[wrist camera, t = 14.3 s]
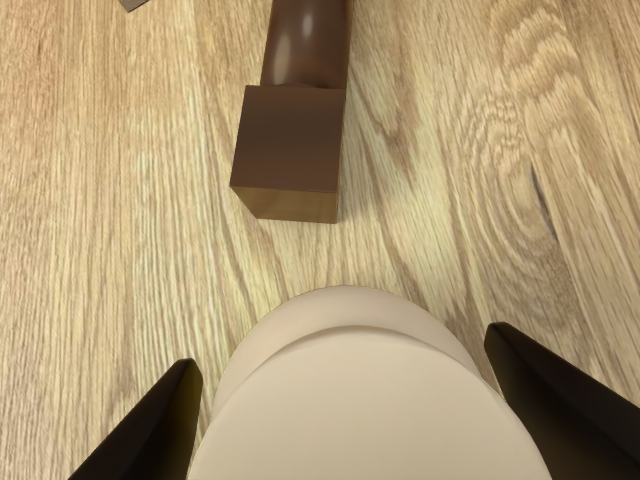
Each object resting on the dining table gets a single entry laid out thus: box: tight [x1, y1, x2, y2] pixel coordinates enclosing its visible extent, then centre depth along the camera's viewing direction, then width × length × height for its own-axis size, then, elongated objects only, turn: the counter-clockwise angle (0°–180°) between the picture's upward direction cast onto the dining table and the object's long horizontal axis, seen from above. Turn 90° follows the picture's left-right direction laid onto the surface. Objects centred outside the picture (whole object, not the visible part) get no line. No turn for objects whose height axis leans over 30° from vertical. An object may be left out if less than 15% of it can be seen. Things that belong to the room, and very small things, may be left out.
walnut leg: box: [229, 0, 353, 224], centre depth 17 cm, size 20×4×4 cm, turn 175°
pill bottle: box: [188, 285, 552, 480], centre depth 9 cm, size 6×6×12 cm
